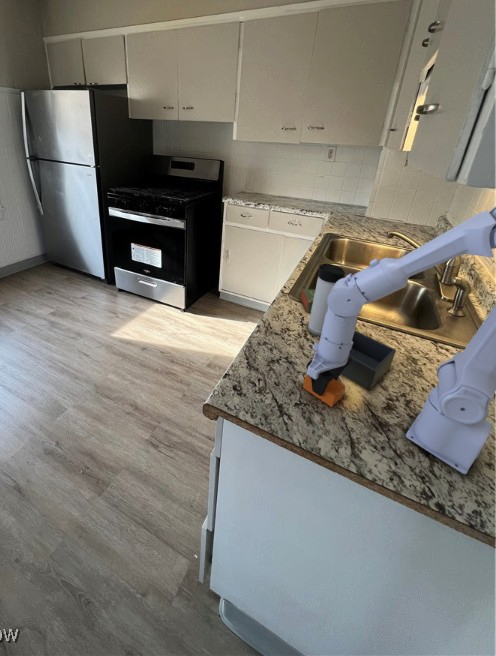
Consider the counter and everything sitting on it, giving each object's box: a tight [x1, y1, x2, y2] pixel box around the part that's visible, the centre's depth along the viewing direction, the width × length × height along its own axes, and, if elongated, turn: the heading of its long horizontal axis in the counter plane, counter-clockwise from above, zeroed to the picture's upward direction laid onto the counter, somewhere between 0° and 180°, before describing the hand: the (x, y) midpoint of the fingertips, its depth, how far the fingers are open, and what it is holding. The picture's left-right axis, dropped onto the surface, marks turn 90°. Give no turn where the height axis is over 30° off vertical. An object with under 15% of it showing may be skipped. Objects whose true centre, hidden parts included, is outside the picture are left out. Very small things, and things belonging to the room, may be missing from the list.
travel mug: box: [307, 262, 346, 337], centre depth 85 cm, size 6×7×20 cm
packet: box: [302, 374, 346, 408], centre depth 68 cm, size 7×4×3 cm, turn 41°
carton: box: [300, 288, 316, 313], centre depth 100 cm, size 8×16×4 cm, turn 88°
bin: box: [340, 329, 397, 392], centre depth 76 cm, size 13×11×6 cm
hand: (323, 386), depth 68 cm, fingers closed on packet, 4 cm apart
